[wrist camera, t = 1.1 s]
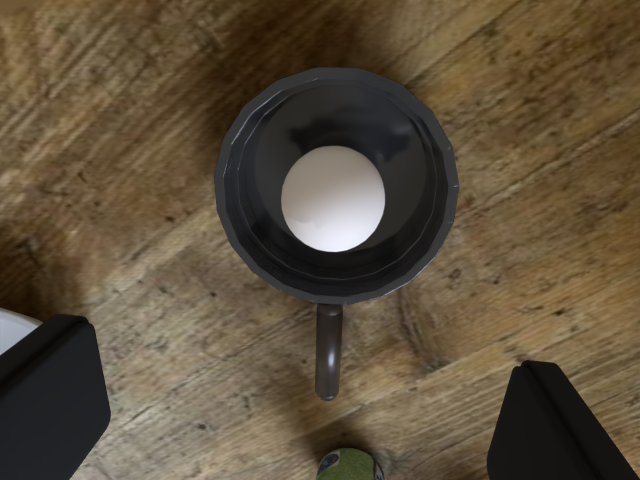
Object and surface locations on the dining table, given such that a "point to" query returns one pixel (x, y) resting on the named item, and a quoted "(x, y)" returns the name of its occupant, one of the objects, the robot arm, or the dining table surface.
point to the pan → (347, 131)
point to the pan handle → (328, 350)
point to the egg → (333, 198)
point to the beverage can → (349, 466)
